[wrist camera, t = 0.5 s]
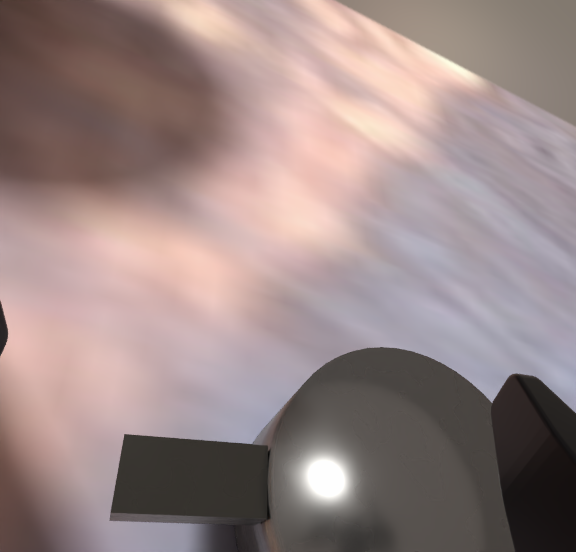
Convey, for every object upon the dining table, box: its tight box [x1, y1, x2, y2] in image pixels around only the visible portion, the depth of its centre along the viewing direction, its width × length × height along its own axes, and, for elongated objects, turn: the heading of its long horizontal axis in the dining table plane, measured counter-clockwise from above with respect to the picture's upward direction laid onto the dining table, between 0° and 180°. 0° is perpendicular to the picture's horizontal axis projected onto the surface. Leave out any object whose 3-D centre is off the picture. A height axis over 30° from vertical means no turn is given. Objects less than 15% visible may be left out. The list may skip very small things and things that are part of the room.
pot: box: [110, 347, 515, 552], centre depth 20 cm, size 11×16×6 cm
